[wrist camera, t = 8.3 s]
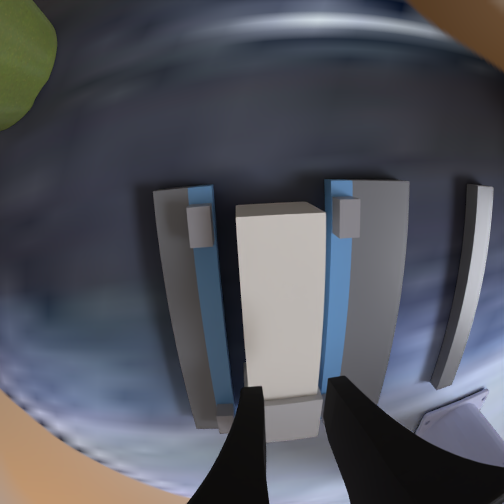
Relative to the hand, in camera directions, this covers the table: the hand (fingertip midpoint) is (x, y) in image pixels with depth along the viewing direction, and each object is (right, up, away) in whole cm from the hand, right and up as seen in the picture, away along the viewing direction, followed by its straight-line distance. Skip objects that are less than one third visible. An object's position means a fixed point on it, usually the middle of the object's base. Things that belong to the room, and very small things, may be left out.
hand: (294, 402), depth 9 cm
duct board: (+4, +2, +6) cm, 7 cm away
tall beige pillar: (0, +2, +6) cm, 6 cm away
